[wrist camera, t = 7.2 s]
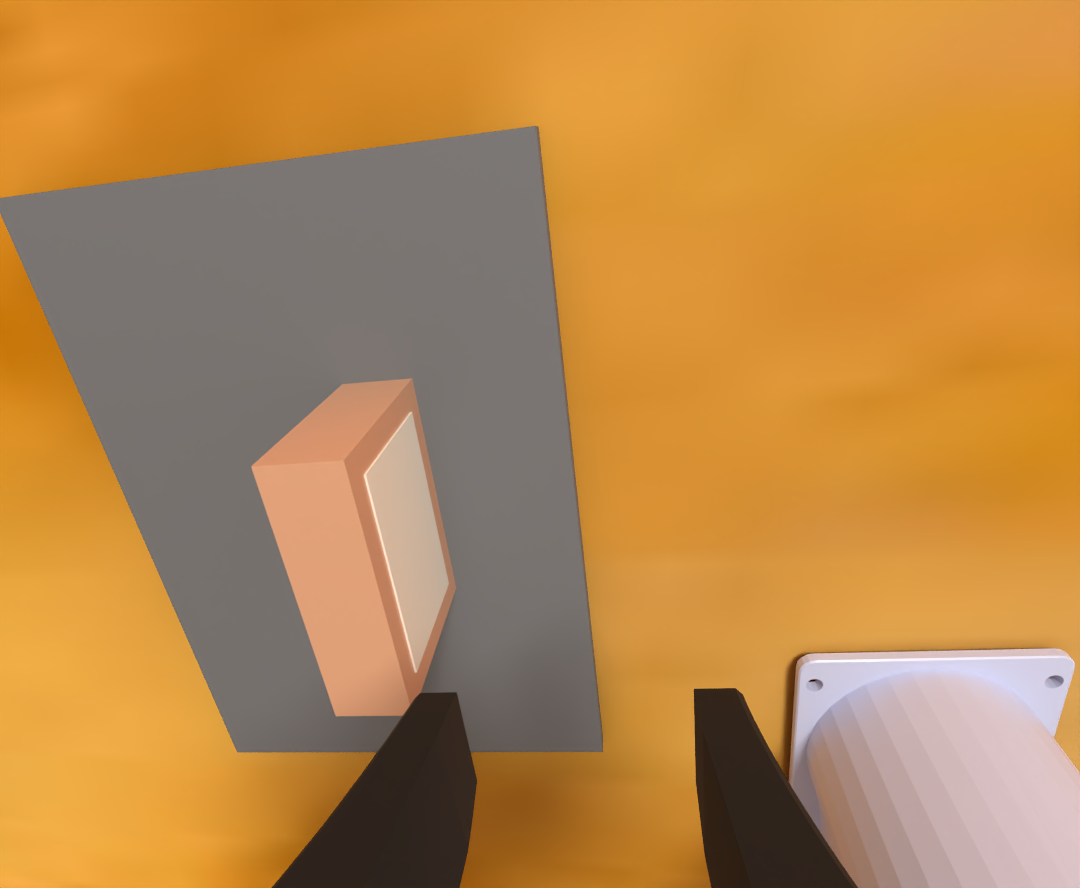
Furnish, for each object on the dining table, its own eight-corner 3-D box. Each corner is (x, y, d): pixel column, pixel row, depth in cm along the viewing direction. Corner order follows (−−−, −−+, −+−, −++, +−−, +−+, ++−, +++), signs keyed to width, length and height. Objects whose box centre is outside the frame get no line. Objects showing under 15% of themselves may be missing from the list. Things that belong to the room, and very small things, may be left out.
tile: (457, 587, 20) (415, 715, 16) (395, 590, 20) (335, 716, 16) (414, 378, 17) (345, 459, 13) (342, 384, 18) (250, 466, 13)
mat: (602, 737, 23) (602, 751, 23) (245, 739, 25) (237, 752, 24) (538, 126, 15) (535, 125, 14) (13, 197, 17) (-6, 199, 16)
